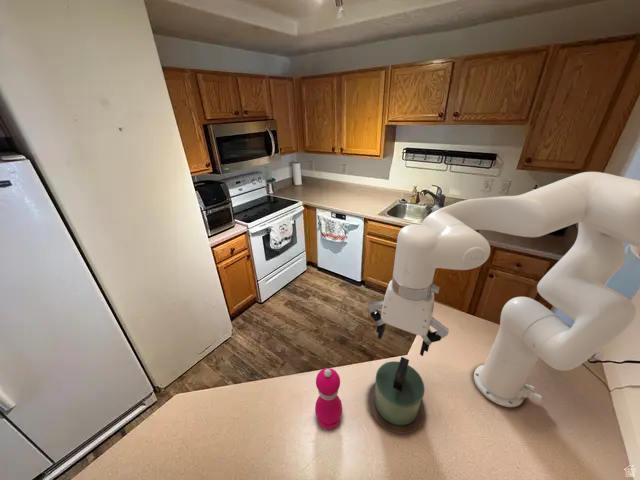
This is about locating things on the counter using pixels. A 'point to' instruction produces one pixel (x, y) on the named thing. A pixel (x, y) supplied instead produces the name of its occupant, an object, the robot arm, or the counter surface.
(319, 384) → the pepper mill
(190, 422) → the counter surface
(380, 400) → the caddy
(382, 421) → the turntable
